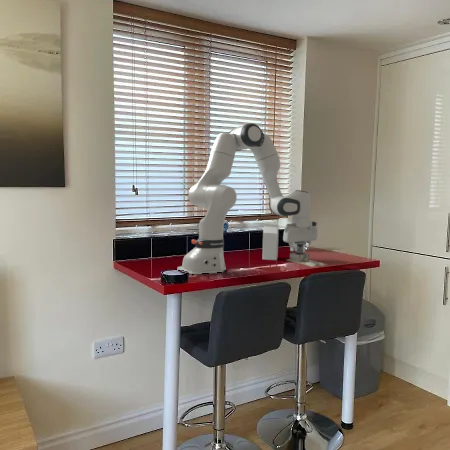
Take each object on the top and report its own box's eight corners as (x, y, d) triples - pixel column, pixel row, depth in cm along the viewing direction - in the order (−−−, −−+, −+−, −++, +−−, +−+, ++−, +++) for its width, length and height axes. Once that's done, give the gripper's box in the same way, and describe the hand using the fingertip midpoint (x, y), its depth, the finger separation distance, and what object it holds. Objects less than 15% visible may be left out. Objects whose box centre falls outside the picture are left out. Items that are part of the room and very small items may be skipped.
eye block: (311, 269, 212) (312, 259, 211) (285, 262, 228) (285, 252, 227) (328, 267, 218) (328, 257, 218) (301, 260, 234) (301, 251, 233)
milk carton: (276, 263, 226) (277, 225, 224) (262, 262, 228) (263, 224, 226) (277, 260, 233) (278, 224, 231) (263, 259, 235) (265, 223, 233)
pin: (299, 261, 223) (299, 242, 222) (291, 259, 228) (292, 241, 227) (307, 260, 226) (308, 242, 225) (299, 259, 231) (300, 240, 230)
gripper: (289, 224, 216) (288, 252, 218) (319, 222, 228) (318, 249, 229) (280, 223, 222) (279, 250, 223) (311, 221, 233) (309, 247, 234)
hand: (299, 250), depth 226 cm, fingers open, 8 cm apart
